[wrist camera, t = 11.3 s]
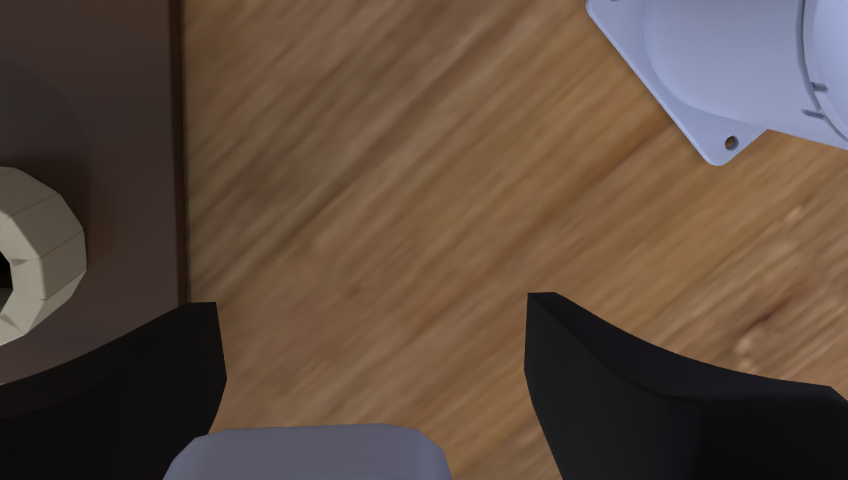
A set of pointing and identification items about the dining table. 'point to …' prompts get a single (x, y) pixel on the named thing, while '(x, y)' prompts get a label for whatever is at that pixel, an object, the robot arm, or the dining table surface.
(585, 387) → the robot arm
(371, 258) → the dining table surface
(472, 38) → the dining table surface
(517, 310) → the dining table surface
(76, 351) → the ring board
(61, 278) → the cream ring
